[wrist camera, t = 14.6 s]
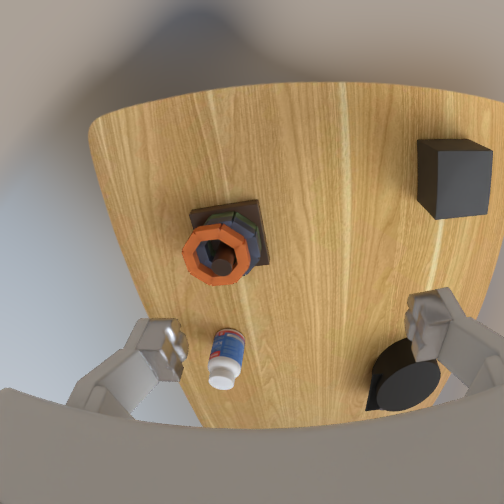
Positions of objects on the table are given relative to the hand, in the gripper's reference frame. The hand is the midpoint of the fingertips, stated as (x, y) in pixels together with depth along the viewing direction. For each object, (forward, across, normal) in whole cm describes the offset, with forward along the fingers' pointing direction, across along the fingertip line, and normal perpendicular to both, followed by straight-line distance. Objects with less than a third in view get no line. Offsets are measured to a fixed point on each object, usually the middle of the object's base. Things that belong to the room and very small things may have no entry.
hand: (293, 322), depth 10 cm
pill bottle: (+29, +14, +31) cm, 45 cm away
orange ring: (+25, +10, +11) cm, 29 cm away
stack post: (+29, +9, +11) cm, 32 cm away
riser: (+29, -21, +5) cm, 36 cm away
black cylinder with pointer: (+29, -18, +45) cm, 56 cm away
